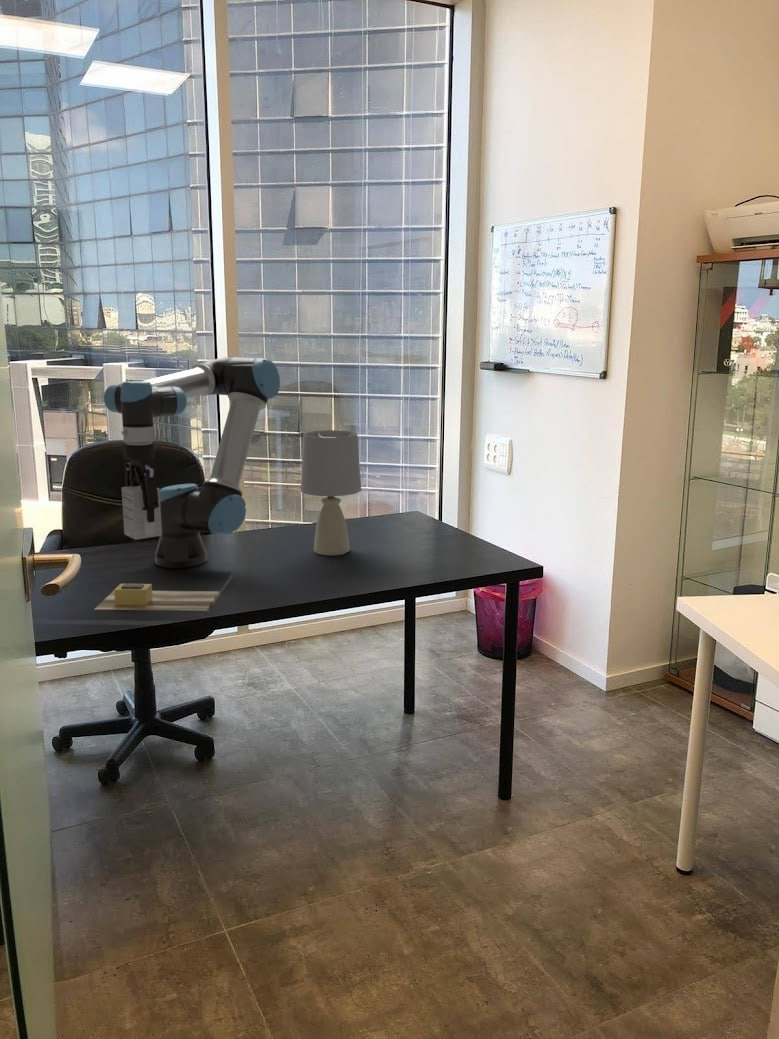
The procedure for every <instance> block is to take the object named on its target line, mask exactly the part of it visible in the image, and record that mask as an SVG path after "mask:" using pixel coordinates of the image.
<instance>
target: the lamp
mask: <svg viewBox="0 0 779 1039" xmlns="http://www.w3.org/2000/svg"><path fill="white" fill-rule="evenodd" d="M358 436H359V435H358V433H357V432H354V431H350V430H337V429H336V430H332V429H331V430H325V429H324V430H313V431H307V432H304V433H303V436H302V450H301V451H302V454H301V455H302V458H301V475H300V477H301V478H300V492H301V493H302V494H305V495H308V496H309V495H310V496H317V497H323V498H322V499H321V503H322V508H321V510H320V512H319V515H318V518H317V522H316V525H315V526H316V528H315V534H314V544H313V551H314V553H316V554H317V555H320V556H330V557H331V556H333V557H335V556H336V557H337V556H342V555H346V554H347V552H348V553H349V551H350V541H349V534H348V528H347V523H346V522H347V521H346V518H345V515H344V513H343V511H342V508H341V506H340V504H341V501H342V499H341V498H340V497H344V496H350V495H355V494H358V493H360V492H361V491H362V481H361V468H360V453H359V452H360V450H359V440H358ZM345 553H346V554H345Z"/></svg>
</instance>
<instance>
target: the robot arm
mask: <svg viewBox="0 0 779 1039" xmlns="http://www.w3.org/2000/svg"><path fill="white" fill-rule="evenodd" d="M280 386H281V377H280V374H279V370H278V368H277V366H276V364H275V363H274V362H273V361H272V360H271V359H268V358H262V357H259V356H256V357H244V356H243V357H241V356H223V357H220V358H215V359H211V360H208V361H203V362H201V363H200V362H199V363H196V364H194V365H193V366H192V367H191V368H190V369H187V370H183V371H177V372H174V373H170V374H166V375H162V376H158V377H153V378H149V379H146V380H127V381H126V380H125V381H122V383H118V384H112V385H109V386H107V388H106V390H105V391H104V394H103V402H104V405H105V407H106V408H107V410H108V411H110V412H112V413H118V414H121V421H122V424H121V425H122V430H121V435H122V437H123V438H122V439H123V442H124V445H123V458H124V459H126V460H129V462H125V463H124V471H125V475H124V476H125V477H124V481H125V483H124V484H125V486H124V487H130V486H140V487H141V490H142V492H143V502H144V506H145V507H144V508H142V510H143V517H144V535H149V534H156V532H155V510H154V509H155V508H158V507H159V502H158V493H157V488H158V486H157V485H158V484H157V469H156V468H152V467H151V465H150V464H151V463H150V460H151V459H152V460H153V459H154V458H155V457H156V455H155V453H156V452H155V451H156V450H155V444H154V443H153V442H155V425H154V418H160V417H175V416H177V415H181V414H182V413H183V412H184V411H185V409H186V407H187V398H190V397H194V396H197V395H199V396H202V397H206V396H211V395H217V396H219V395H222V396H227V398H228V399H229V401H230V407H229V409H228V413H227V415H226V416H227V417H226V419H225V423H224V427H223V431H222V434H221V438H220V441H219V445H218V449H217V452H216V456H215V459H214V462H213V466H212V469H211V474H210V477H209V478H208V479H205V481H203V482H202V486H201V489H200V490H199V486H198V484H197V483H183V484H181V483H180V484H175V485H168V486H164V487H162V488H159V489H160V509H161V528H162V535H161V536H159V539H158V542H157V547H156V551H155V554H154V562H155V565H156V566H159V567H160V568H161V567H162V568H166V569H184V568H191V567H196V566H199V565H203V564H205V563H206V562H207V561H208V552H207V550H206V546H205V544H204V542H203V538H202V537H201V532H203V533H211V534H213V535H230V534H233V533H234V532H236V531H237V530H238V529H239V528H241V526H242V524H243V522H244V520H245V517H246V514H247V508H246V506H247V505H246V504H247V503H246V501H245V499H244V498H243V497H242V496H243V491H242V489H241V487H240V483H241V479H242V476H243V472H244V468H245V466H246V461H247V458H248V454H249V451H250V447H251V443H252V439H253V436H254V433H255V432H254V431H255V429H256V424H257V422H258V417H259V414H260V411H261V410H263V409H266V407H267V404H268V401H269V400H271V399H274V398H275V397H276V396H277V395H278V393H279V391H280V388H281V387H280ZM268 399H269V400H268Z"/></svg>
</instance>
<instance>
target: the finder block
mask: <svg viewBox="0 0 779 1039" xmlns="http://www.w3.org/2000/svg"><path fill="white" fill-rule="evenodd" d="M152 586H153V584H152V583H120V584H118V585H117V587H115V588H114V589H113V591H114V594H115V605H148V603H149V602H150V601H151V600H152V599H153V597H152V591H153V587H152Z"/></svg>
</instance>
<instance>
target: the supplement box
mask: <svg viewBox="0 0 779 1039" xmlns="http://www.w3.org/2000/svg"><path fill="white" fill-rule="evenodd" d="M160 489H161V488H159V487H157V493H158V502H159V507H158V508H155V509H154V510H155V532H156V534H149V535H144V517H143V510H142V508H144V507H145V506H144V502H143V492H142V490H141V487H140V486H130V487H125V486H123V487H122V486H121V498H122V499H121V500H122V501H121V502H122V515H123V518H122V519H123V533H124V535H125V536H127V537H129V538H131V539H134V540H142V539H148V538H155V537H160V536H161V535H162V528H161V509H160Z"/></svg>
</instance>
